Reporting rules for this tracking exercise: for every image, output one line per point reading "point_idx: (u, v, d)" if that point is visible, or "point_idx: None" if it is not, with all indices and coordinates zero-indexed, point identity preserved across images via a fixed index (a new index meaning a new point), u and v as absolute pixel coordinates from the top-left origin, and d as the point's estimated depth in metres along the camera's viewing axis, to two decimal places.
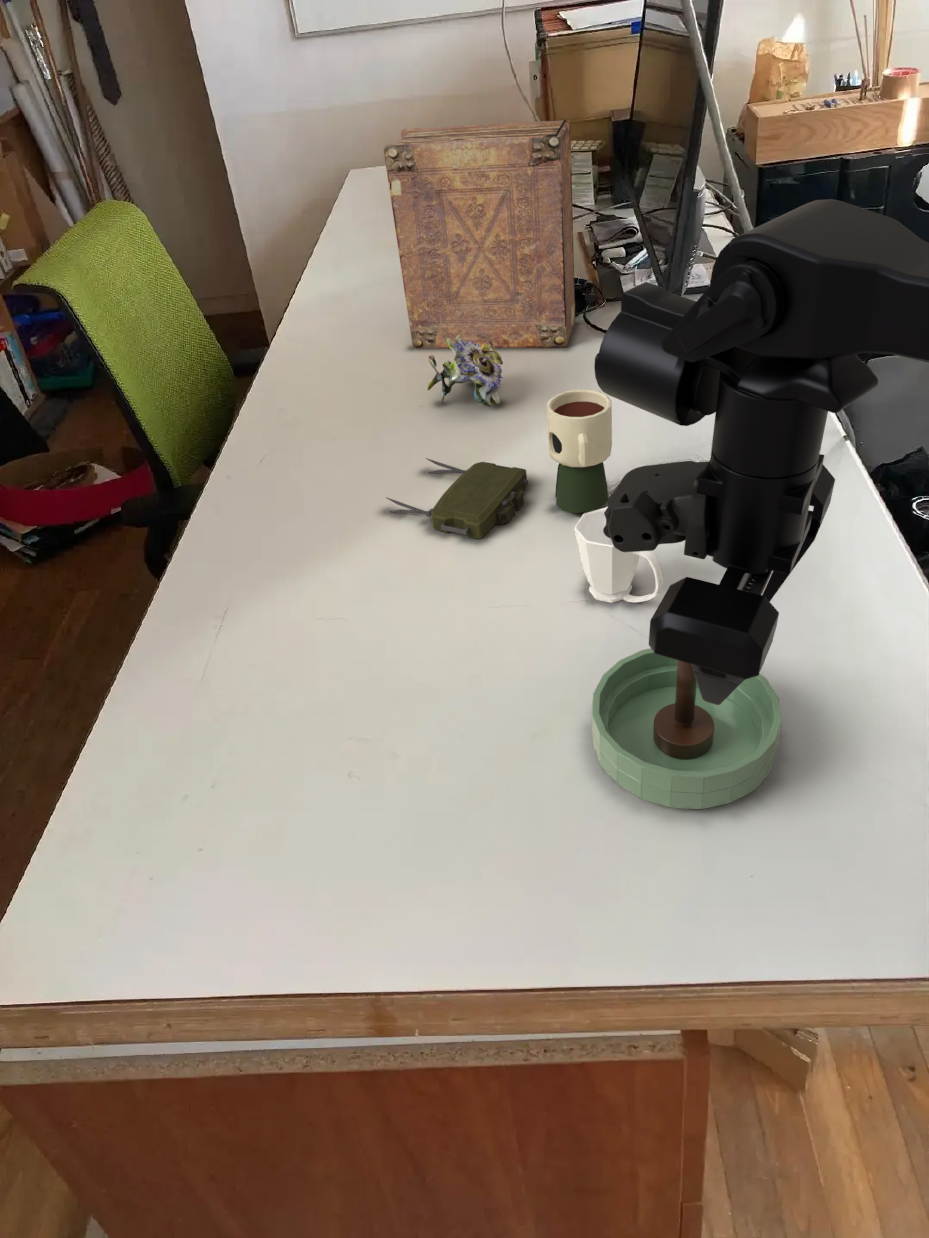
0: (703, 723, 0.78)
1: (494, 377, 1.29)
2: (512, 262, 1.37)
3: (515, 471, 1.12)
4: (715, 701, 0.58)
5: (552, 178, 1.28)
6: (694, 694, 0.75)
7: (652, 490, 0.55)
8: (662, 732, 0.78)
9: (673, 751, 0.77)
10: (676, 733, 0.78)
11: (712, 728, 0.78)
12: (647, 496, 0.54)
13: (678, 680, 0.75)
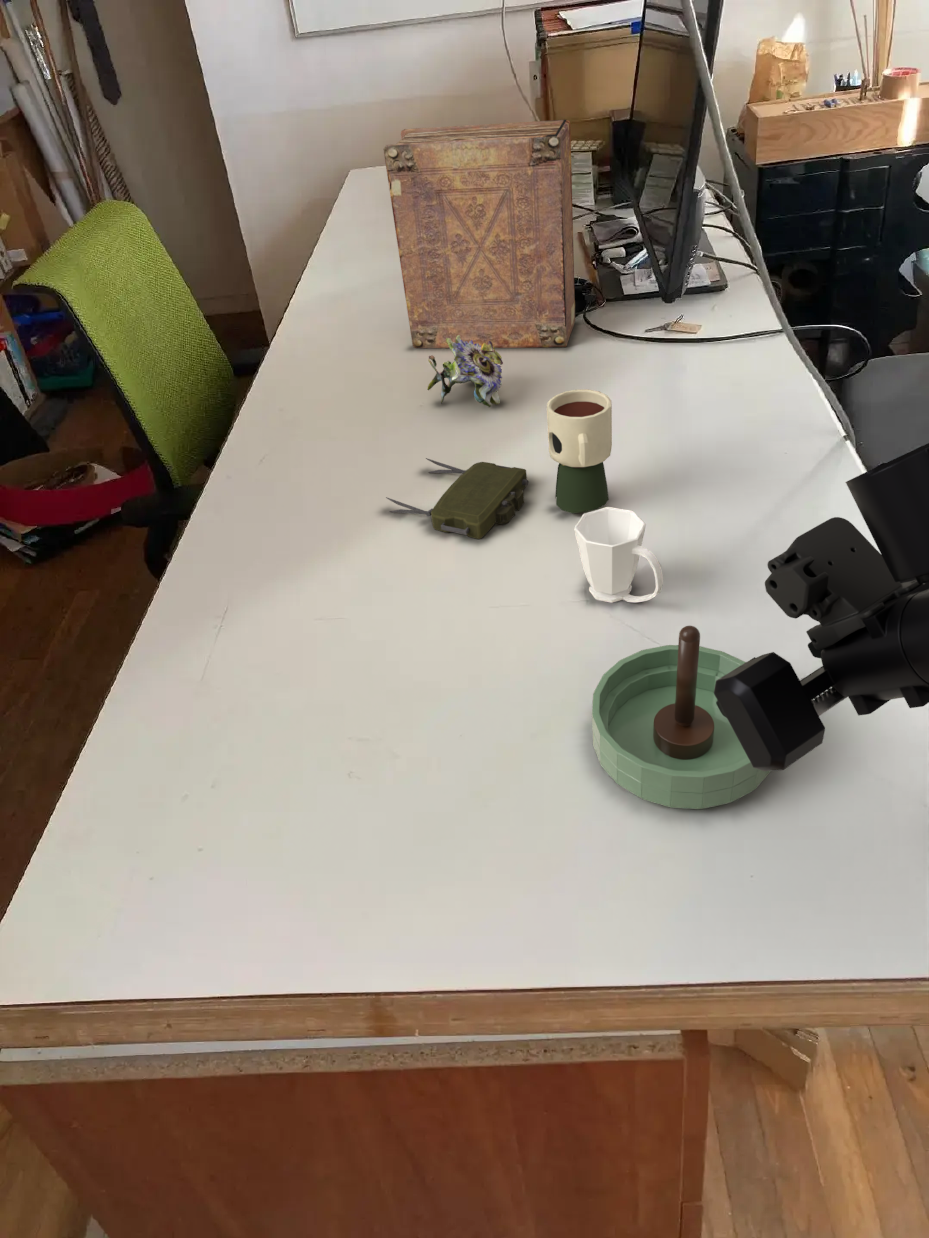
0: (703, 723, 0.78)
1: (494, 377, 1.29)
2: (512, 261, 1.37)
3: (515, 471, 1.12)
4: (722, 712, 0.64)
5: (552, 178, 1.28)
6: (694, 694, 0.75)
7: (835, 567, 0.55)
8: (662, 732, 0.78)
9: (673, 751, 0.77)
10: (676, 733, 0.78)
11: (712, 728, 0.78)
12: (826, 580, 0.53)
13: (678, 680, 0.75)
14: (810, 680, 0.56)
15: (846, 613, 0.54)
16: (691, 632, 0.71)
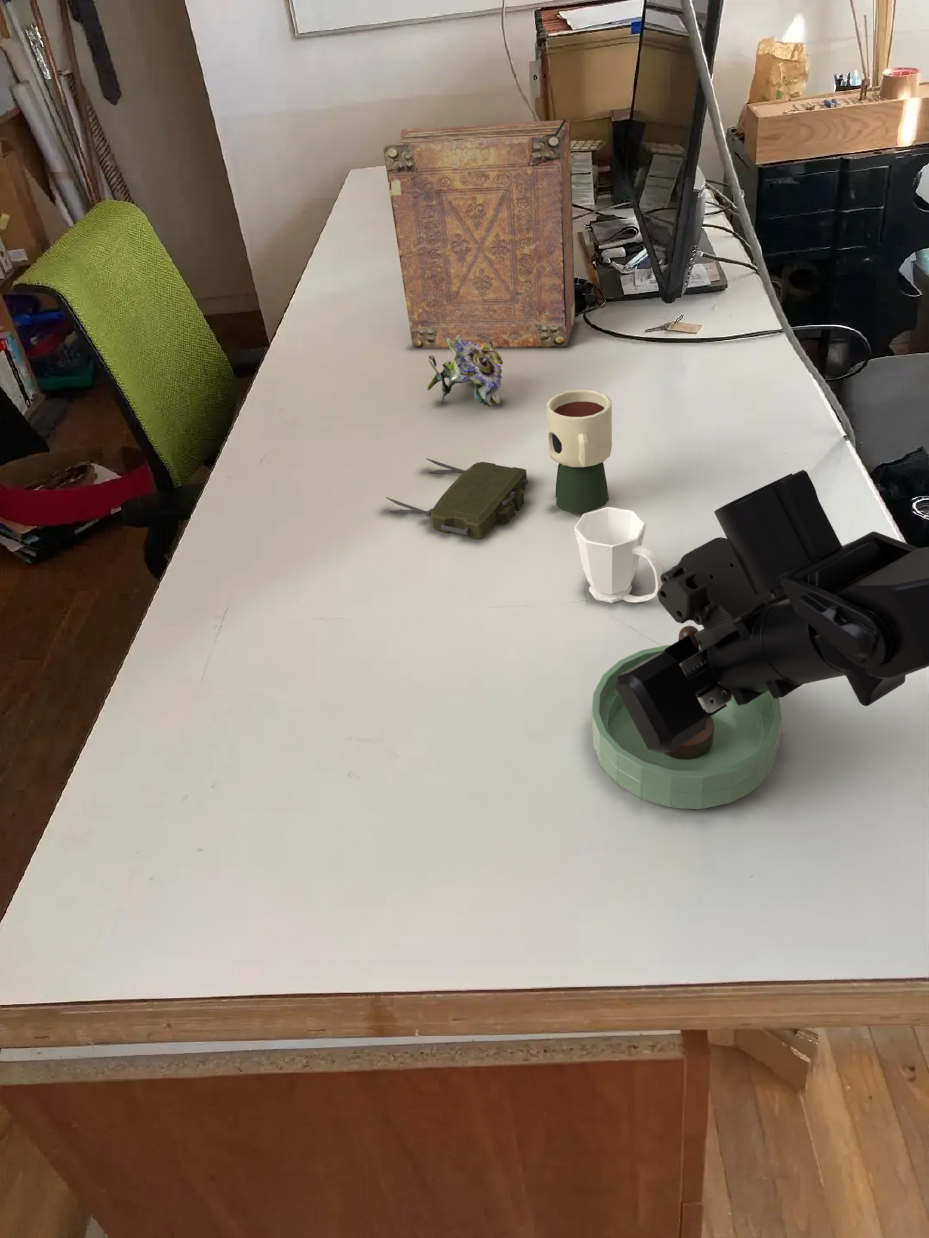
0: None
1: (494, 377, 1.29)
2: (511, 261, 1.37)
3: (515, 471, 1.12)
4: None
5: (552, 177, 1.28)
6: None
7: (715, 580, 0.65)
8: None
9: (673, 751, 0.77)
10: None
11: (712, 728, 0.78)
12: (705, 591, 0.64)
13: None
14: (696, 675, 0.66)
15: (723, 619, 0.64)
16: (691, 632, 0.71)
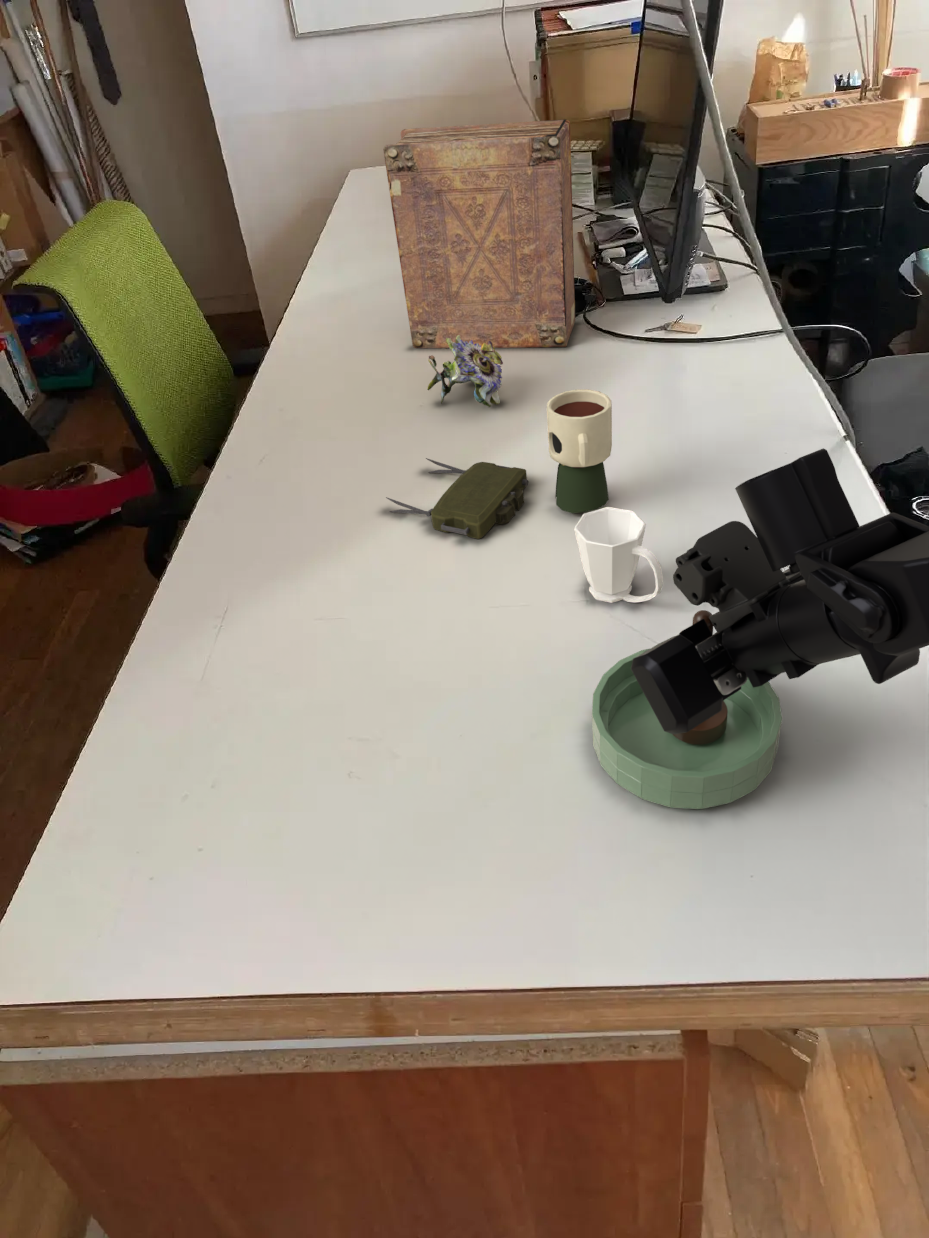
0: None
1: (494, 377, 1.29)
2: (511, 261, 1.37)
3: (515, 471, 1.12)
4: None
5: (552, 178, 1.28)
6: None
7: (730, 562, 0.65)
8: None
9: (686, 736, 0.78)
10: None
11: (725, 713, 0.78)
12: (720, 573, 0.64)
13: None
14: (712, 658, 0.67)
15: (738, 601, 0.65)
16: (705, 616, 0.72)
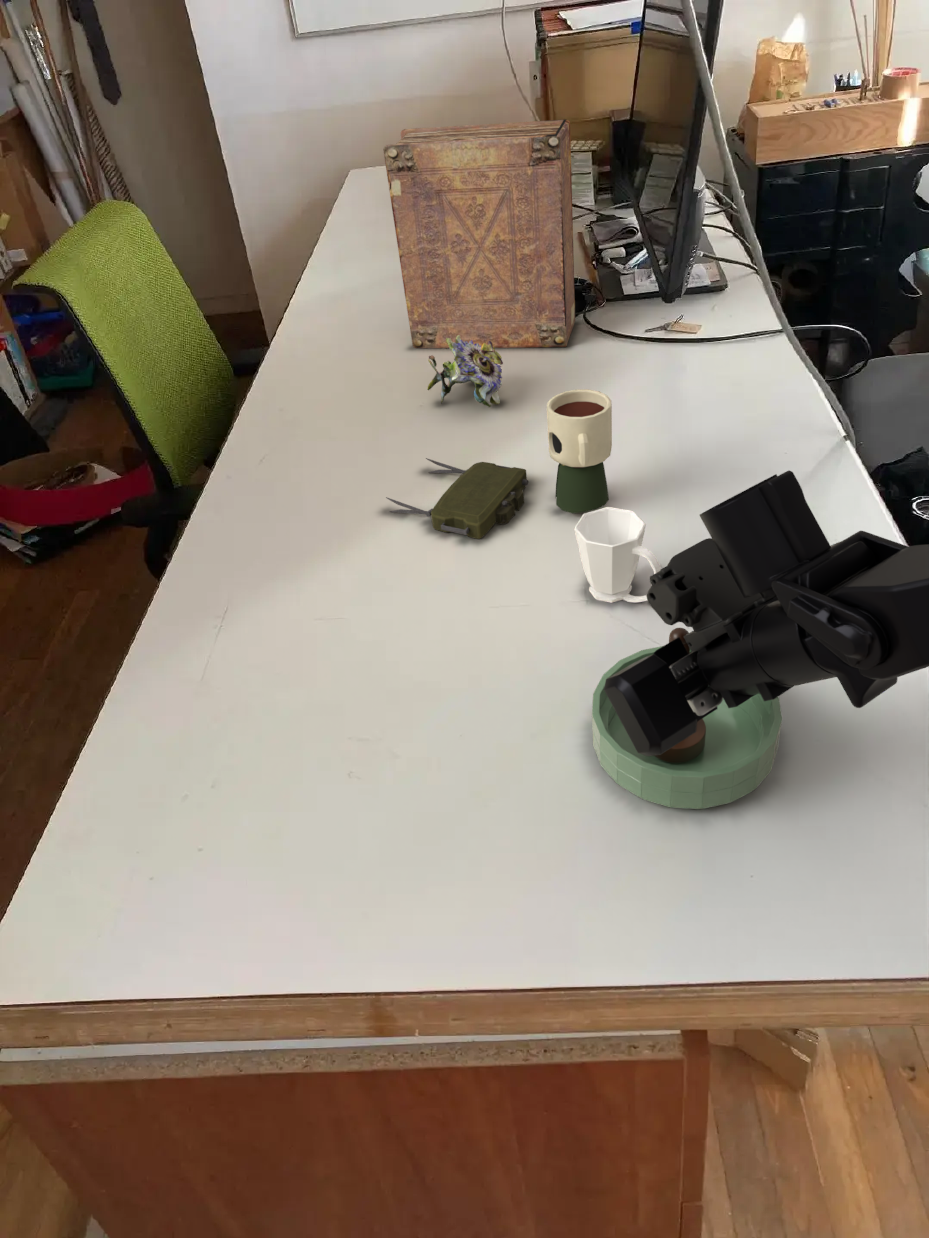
0: None
1: (494, 377, 1.29)
2: (511, 261, 1.37)
3: (515, 471, 1.12)
4: None
5: (552, 178, 1.28)
6: None
7: (705, 581, 0.64)
8: None
9: (664, 754, 0.77)
10: None
11: (704, 731, 0.77)
12: (694, 593, 0.63)
13: None
14: (686, 678, 0.65)
15: (712, 621, 0.63)
16: (681, 634, 0.71)
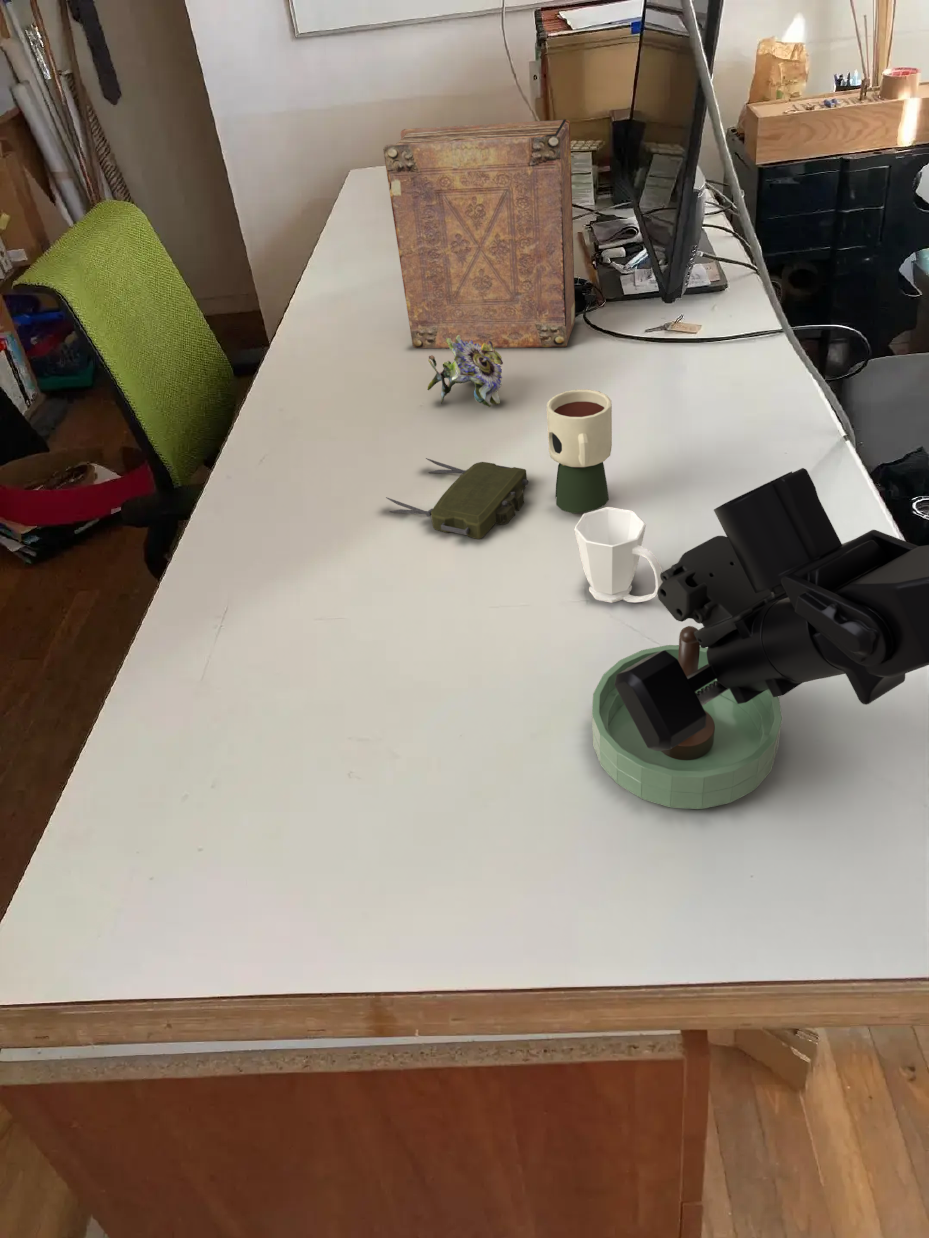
0: None
1: (494, 377, 1.29)
2: (511, 261, 1.37)
3: (515, 471, 1.12)
4: None
5: (552, 178, 1.28)
6: None
7: (715, 578, 0.65)
8: None
9: (673, 752, 0.77)
10: None
11: (712, 729, 0.77)
12: (705, 589, 0.63)
13: None
14: (696, 674, 0.66)
15: (723, 617, 0.64)
16: (691, 633, 0.71)
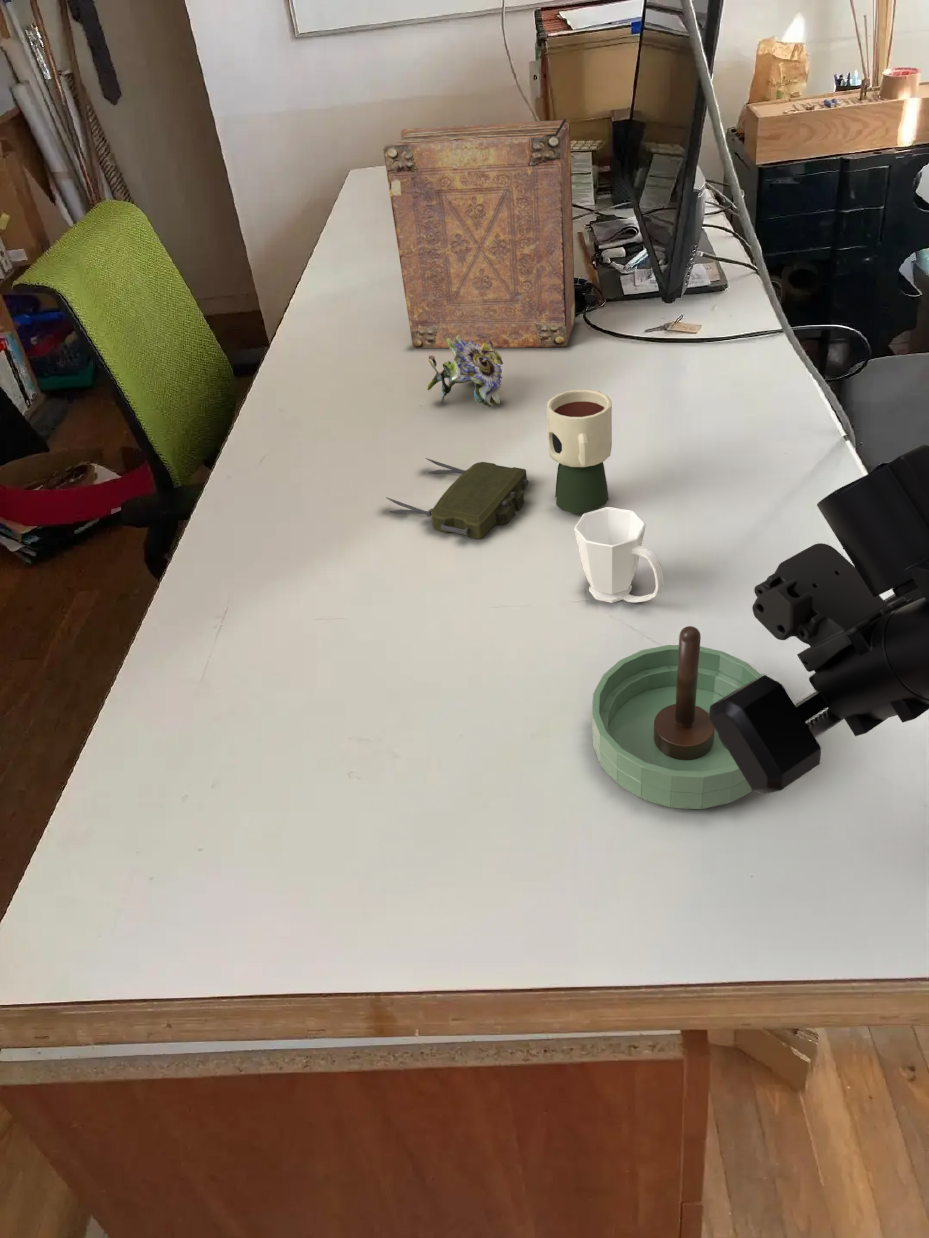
0: (703, 723, 0.78)
1: (494, 377, 1.29)
2: (511, 261, 1.37)
3: (515, 471, 1.12)
4: (725, 745, 0.64)
5: (552, 178, 1.28)
6: (694, 695, 0.75)
7: (820, 589, 0.56)
8: (662, 733, 0.78)
9: (673, 752, 0.77)
10: (676, 733, 0.78)
11: (712, 729, 0.77)
12: (810, 600, 0.55)
13: (678, 681, 0.75)
14: (804, 702, 0.57)
15: (833, 632, 0.55)
16: (691, 633, 0.71)
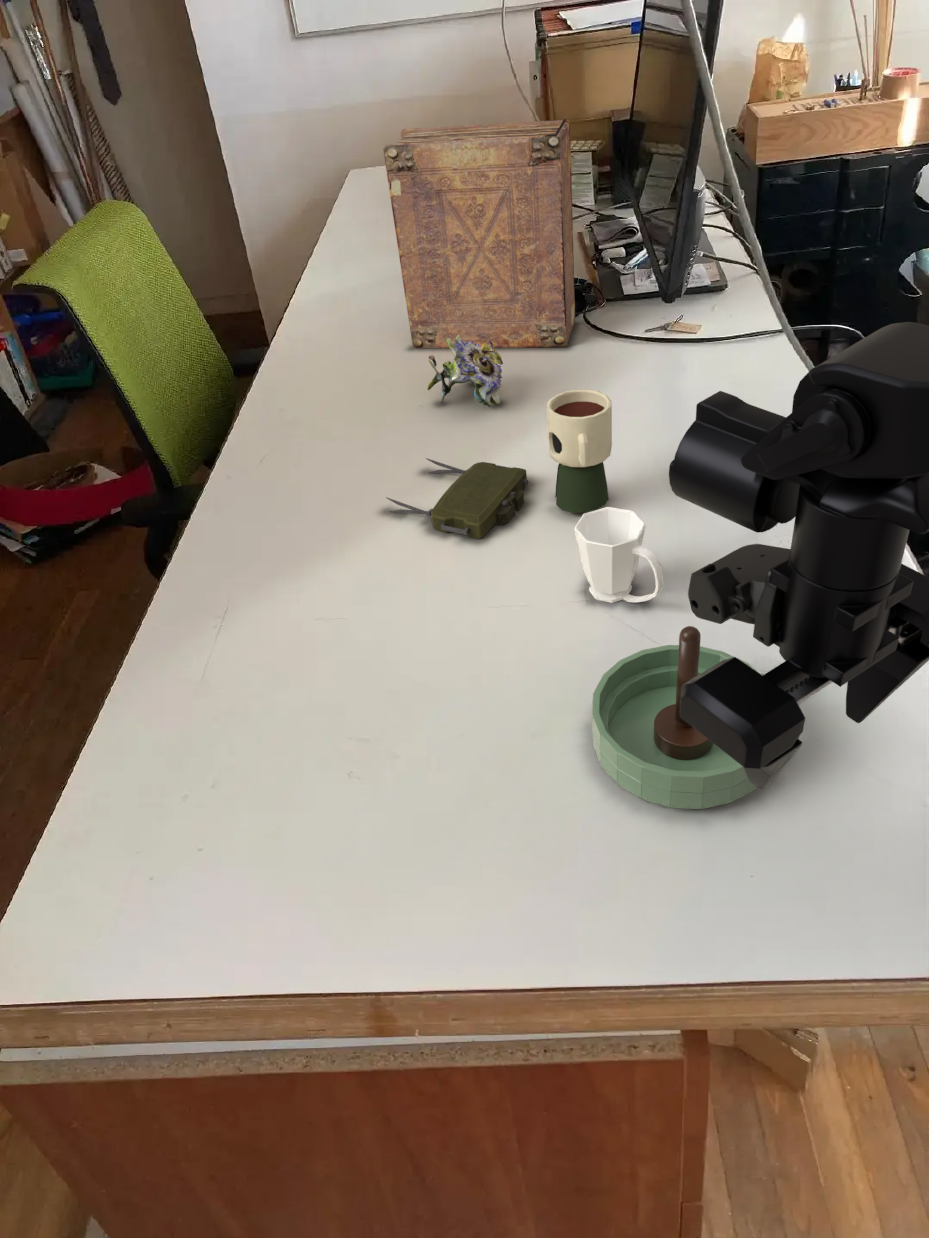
0: None
1: (494, 377, 1.29)
2: (511, 261, 1.37)
3: (515, 471, 1.12)
4: (757, 785, 0.59)
5: (552, 177, 1.28)
6: None
7: (745, 568, 0.57)
8: (662, 733, 0.78)
9: (673, 752, 0.77)
10: (676, 733, 0.78)
11: None
12: (729, 572, 0.56)
13: (678, 681, 0.75)
14: (771, 671, 0.54)
15: (763, 591, 0.55)
16: (691, 633, 0.71)
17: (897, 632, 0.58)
